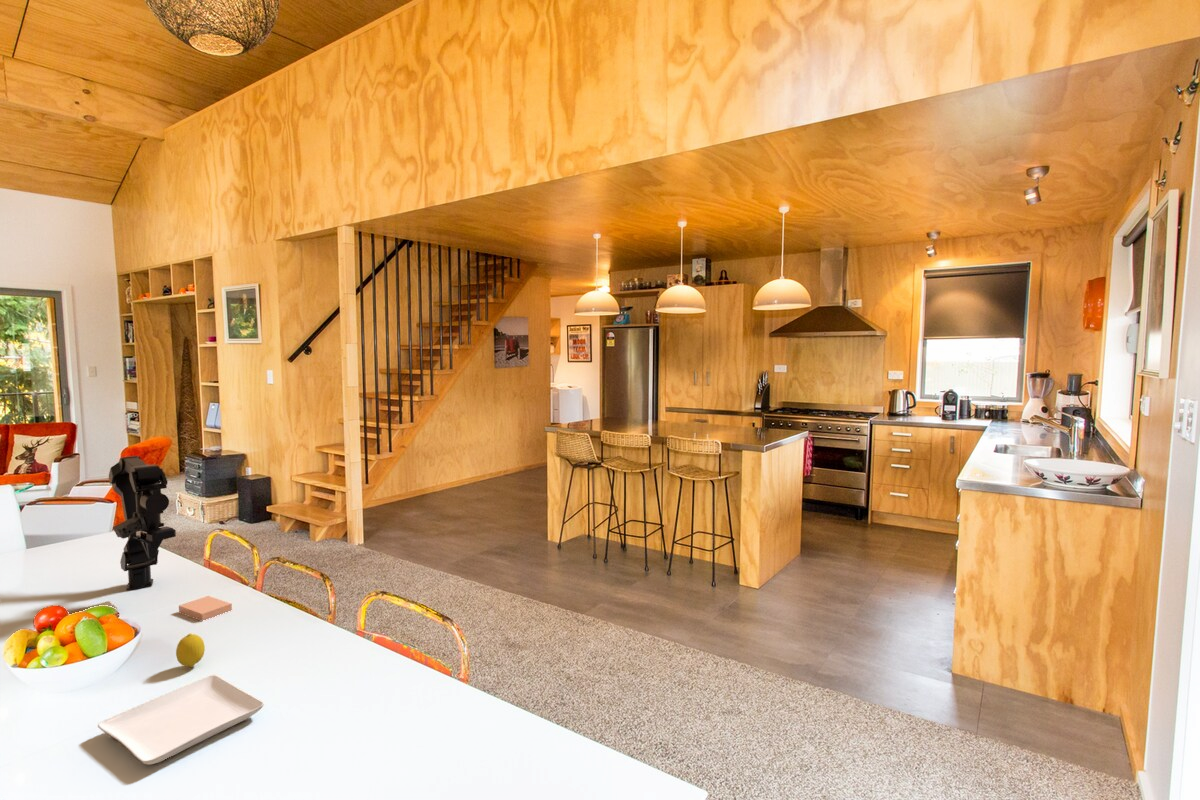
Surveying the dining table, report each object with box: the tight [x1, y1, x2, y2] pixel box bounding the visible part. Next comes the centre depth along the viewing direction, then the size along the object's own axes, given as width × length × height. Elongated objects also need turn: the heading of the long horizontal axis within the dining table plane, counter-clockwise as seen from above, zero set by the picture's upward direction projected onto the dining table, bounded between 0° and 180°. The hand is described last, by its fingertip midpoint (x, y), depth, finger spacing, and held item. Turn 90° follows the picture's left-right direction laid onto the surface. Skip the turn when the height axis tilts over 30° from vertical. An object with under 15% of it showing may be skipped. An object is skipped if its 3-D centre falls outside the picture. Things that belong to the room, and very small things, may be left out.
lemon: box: [175, 633, 206, 668], centre depth 142 cm, size 6×6×8 cm
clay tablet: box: [68, 600, 118, 614], centre depth 171 cm, size 14×10×3 cm
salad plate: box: [97, 674, 265, 765], centre depth 119 cm, size 21×21×3 cm
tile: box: [178, 595, 233, 622], centre depth 173 cm, size 2×8×12 cm
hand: (151, 558), depth 183 cm, fingers closed
